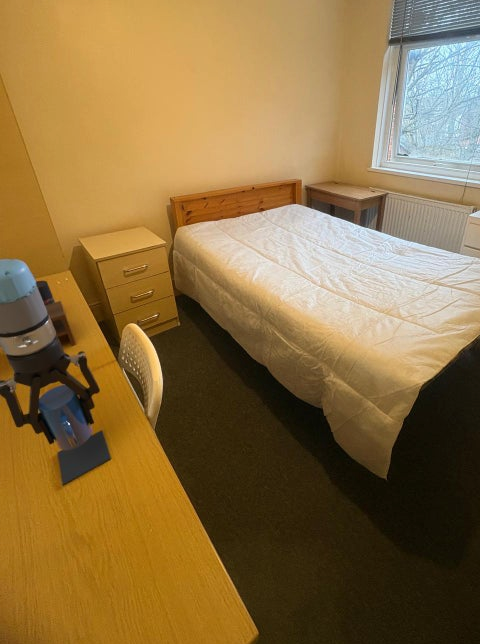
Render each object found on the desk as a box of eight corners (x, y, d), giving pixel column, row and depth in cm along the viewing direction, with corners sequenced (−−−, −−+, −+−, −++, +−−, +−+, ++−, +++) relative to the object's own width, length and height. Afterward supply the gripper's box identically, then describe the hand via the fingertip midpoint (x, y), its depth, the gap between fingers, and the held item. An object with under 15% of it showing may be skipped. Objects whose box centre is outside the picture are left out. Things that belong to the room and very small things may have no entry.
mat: (57, 453, 72) (57, 452, 72) (102, 430, 78) (102, 429, 77) (63, 485, 66) (62, 484, 66) (111, 459, 71) (110, 458, 71)
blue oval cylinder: (55, 434, 69) (35, 394, 64) (89, 418, 73) (73, 379, 67) (60, 465, 63) (39, 424, 58) (97, 445, 67) (80, 406, 61)
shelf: (36, 341, 106) (22, 311, 101) (71, 329, 112) (60, 300, 106) (38, 357, 99) (24, 326, 94) (76, 344, 105) (64, 314, 100)
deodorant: (57, 323, 115) (43, 287, 108) (38, 326, 113) (22, 290, 106) (63, 314, 120) (49, 279, 113) (45, 317, 118) (30, 281, 111)
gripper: (-46, 382, 49) (13, 472, 59) (97, 332, 60) (126, 416, 71) (-42, 355, 54) (12, 443, 65) (90, 314, 65) (117, 395, 76)
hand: (71, 428), depth 68 cm, fingers closed on blue oval cylinder, 6 cm apart
